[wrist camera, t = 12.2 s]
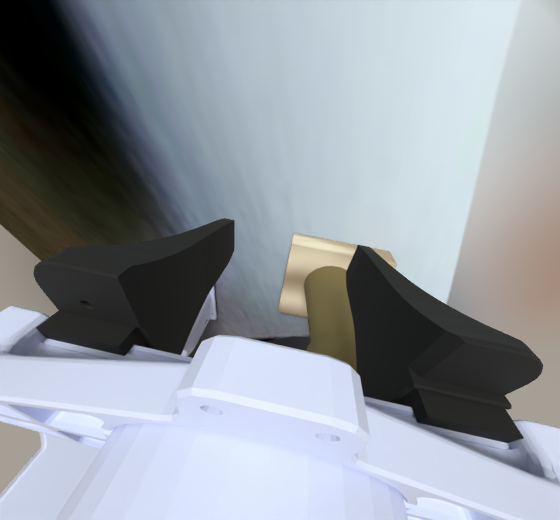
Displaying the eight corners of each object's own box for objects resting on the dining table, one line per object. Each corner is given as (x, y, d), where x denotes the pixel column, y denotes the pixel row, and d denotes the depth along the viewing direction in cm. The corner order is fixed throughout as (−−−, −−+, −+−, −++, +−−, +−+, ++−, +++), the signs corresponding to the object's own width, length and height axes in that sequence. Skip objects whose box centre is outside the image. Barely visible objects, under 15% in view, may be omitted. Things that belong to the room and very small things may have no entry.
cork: (331, 310, 25) (340, 412, 17) (293, 288, 24) (281, 385, 15) (368, 284, 22) (404, 394, 13) (327, 256, 21) (335, 357, 12)
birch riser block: (354, 313, 29) (357, 328, 27) (280, 298, 29) (277, 311, 27) (389, 251, 22) (397, 264, 20) (294, 232, 23) (291, 243, 21)
